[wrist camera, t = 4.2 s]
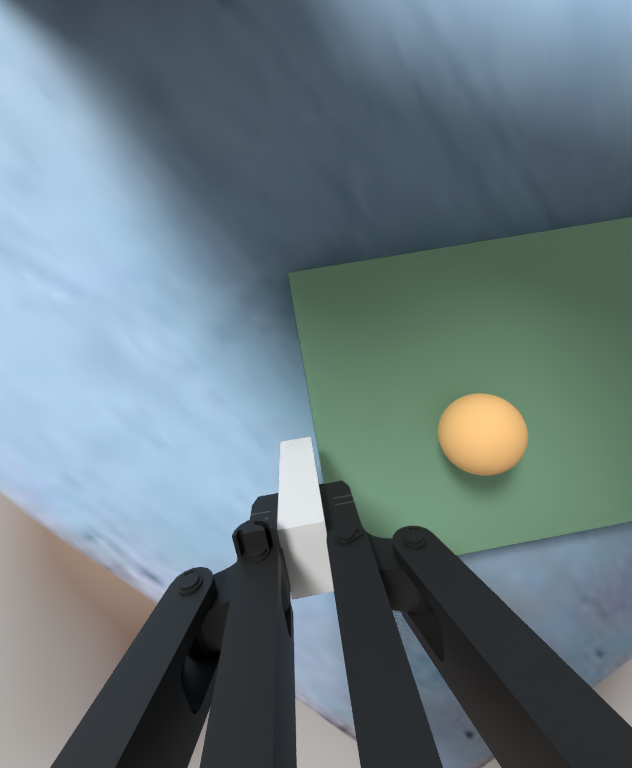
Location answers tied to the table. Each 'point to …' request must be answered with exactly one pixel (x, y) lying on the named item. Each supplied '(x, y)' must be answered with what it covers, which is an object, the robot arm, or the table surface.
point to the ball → (482, 434)
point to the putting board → (476, 381)
